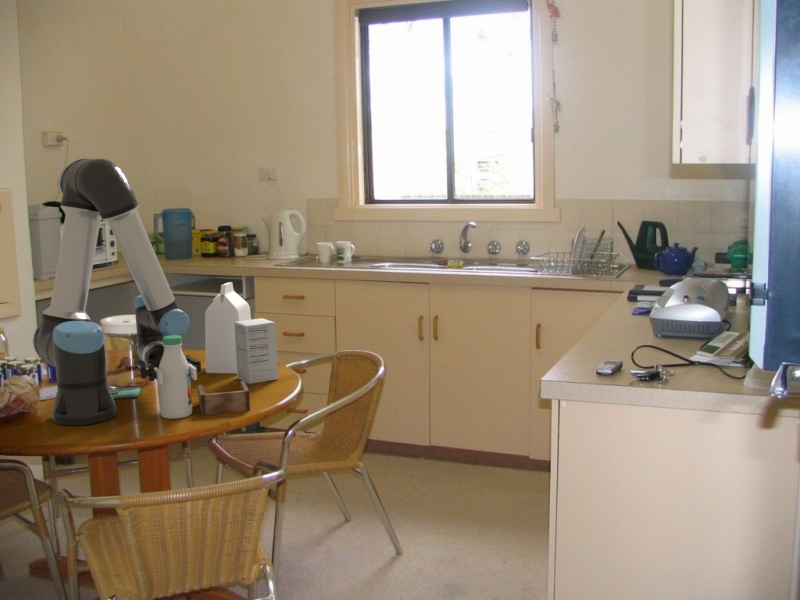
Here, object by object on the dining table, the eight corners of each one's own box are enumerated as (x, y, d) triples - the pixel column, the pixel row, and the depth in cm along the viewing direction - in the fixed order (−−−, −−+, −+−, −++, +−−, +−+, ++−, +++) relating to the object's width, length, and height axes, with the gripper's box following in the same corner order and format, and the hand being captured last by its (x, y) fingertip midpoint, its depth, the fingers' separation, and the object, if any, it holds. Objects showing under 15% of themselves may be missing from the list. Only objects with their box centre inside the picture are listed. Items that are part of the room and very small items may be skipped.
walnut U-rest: (201, 414, 223) (200, 395, 222) (198, 403, 234) (197, 384, 233) (250, 410, 227) (249, 391, 226) (245, 399, 237) (244, 380, 236)
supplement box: (279, 379, 257) (276, 322, 254) (249, 384, 252) (246, 325, 249) (265, 373, 265) (263, 317, 262) (236, 377, 260) (233, 320, 257)
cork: (129, 365, 278) (126, 330, 276) (147, 362, 281) (145, 328, 280) (136, 369, 273) (133, 333, 271) (155, 366, 277) (152, 331, 275)
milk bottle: (184, 420, 219) (179, 340, 216) (155, 418, 221) (150, 339, 217) (197, 411, 226) (193, 333, 223) (169, 410, 228) (164, 333, 225)
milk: (242, 373, 265) (238, 286, 261) (205, 372, 267) (201, 286, 263) (255, 364, 277) (251, 280, 273) (219, 363, 279) (215, 280, 275)
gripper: (198, 367, 243) (220, 385, 222) (120, 376, 234) (136, 397, 214) (196, 340, 241) (218, 356, 221) (118, 348, 233) (134, 366, 212)
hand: (178, 376), depth 217 cm, fingers closed on milk bottle, 8 cm apart
